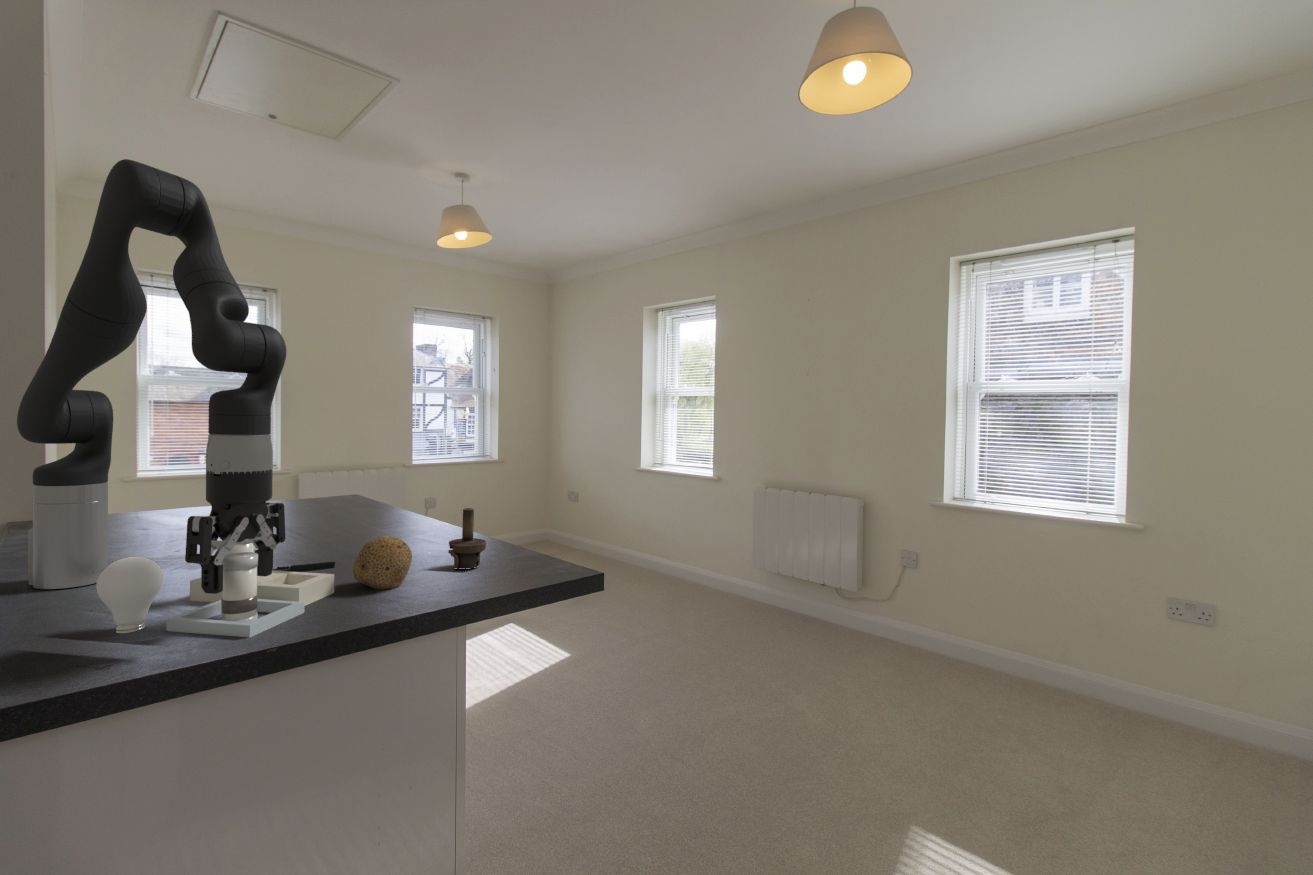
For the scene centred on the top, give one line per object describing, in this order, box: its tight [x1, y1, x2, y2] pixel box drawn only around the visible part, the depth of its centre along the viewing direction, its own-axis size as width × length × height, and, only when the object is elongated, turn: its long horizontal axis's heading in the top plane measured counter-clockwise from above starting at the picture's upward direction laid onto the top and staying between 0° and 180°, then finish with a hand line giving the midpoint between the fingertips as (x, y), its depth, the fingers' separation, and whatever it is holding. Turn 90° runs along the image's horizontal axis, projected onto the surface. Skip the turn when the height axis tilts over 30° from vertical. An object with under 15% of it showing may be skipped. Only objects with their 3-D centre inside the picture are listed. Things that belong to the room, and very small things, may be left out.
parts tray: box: [165, 599, 305, 638], centre depth 82 cm, size 12×10×3 cm
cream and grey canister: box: [220, 551, 259, 622], centre depth 82 cm, size 4×4×10 cm
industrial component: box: [447, 507, 487, 569], centre depth 120 cm, size 9×7×12 cm
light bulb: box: [95, 556, 165, 634], centre depth 78 cm, size 7×7×11 cm
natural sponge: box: [352, 535, 413, 590], centre depth 101 cm, size 9×9×10 cm
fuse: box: [226, 539, 255, 555], centre depth 94 cm, size 4×4×10 cm
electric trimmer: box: [272, 561, 336, 573], centre depth 108 cm, size 4×16×3 cm, turn 127°
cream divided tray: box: [189, 570, 335, 607], centre depth 93 cm, size 18×8×4 cm, turn 83°
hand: (239, 583), depth 82 cm, fingers open, 8 cm apart
